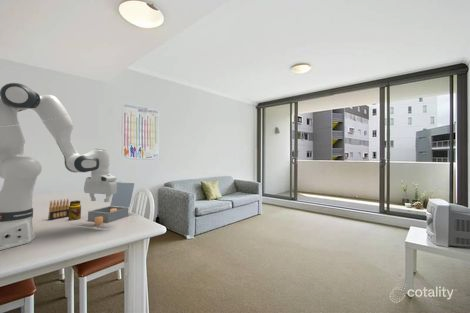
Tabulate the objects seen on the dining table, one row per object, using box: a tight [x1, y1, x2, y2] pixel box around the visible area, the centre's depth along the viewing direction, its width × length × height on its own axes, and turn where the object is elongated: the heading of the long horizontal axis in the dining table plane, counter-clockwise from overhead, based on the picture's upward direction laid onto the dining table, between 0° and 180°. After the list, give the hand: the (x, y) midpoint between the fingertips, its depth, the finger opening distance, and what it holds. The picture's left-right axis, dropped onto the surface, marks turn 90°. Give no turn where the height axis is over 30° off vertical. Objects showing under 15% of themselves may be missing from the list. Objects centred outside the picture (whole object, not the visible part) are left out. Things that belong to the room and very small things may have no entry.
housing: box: [87, 205, 129, 224], centre depth 136 cm, size 16×15×6 cm
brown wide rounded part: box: [94, 216, 104, 226], centre depth 123 cm, size 4×4×5 cm
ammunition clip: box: [47, 198, 70, 221], centre depth 137 cm, size 11×2×12 cm, turn 151°
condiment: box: [67, 200, 82, 221], centre depth 133 cm, size 7×8×12 cm
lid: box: [109, 181, 135, 208], centre depth 147 cm, size 16×15×2 cm
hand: (99, 201), depth 123 cm, fingers open, 8 cm apart
